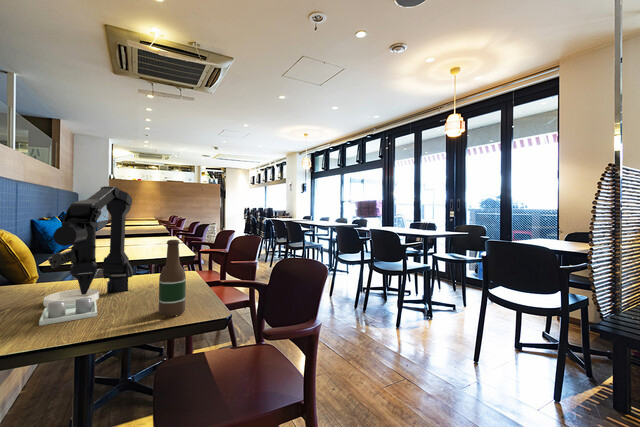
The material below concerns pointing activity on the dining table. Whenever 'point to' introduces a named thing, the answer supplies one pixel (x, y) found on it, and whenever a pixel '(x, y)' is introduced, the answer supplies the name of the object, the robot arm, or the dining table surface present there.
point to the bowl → (71, 296)
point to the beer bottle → (172, 283)
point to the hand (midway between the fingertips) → (83, 291)
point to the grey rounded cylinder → (83, 305)
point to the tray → (68, 315)
